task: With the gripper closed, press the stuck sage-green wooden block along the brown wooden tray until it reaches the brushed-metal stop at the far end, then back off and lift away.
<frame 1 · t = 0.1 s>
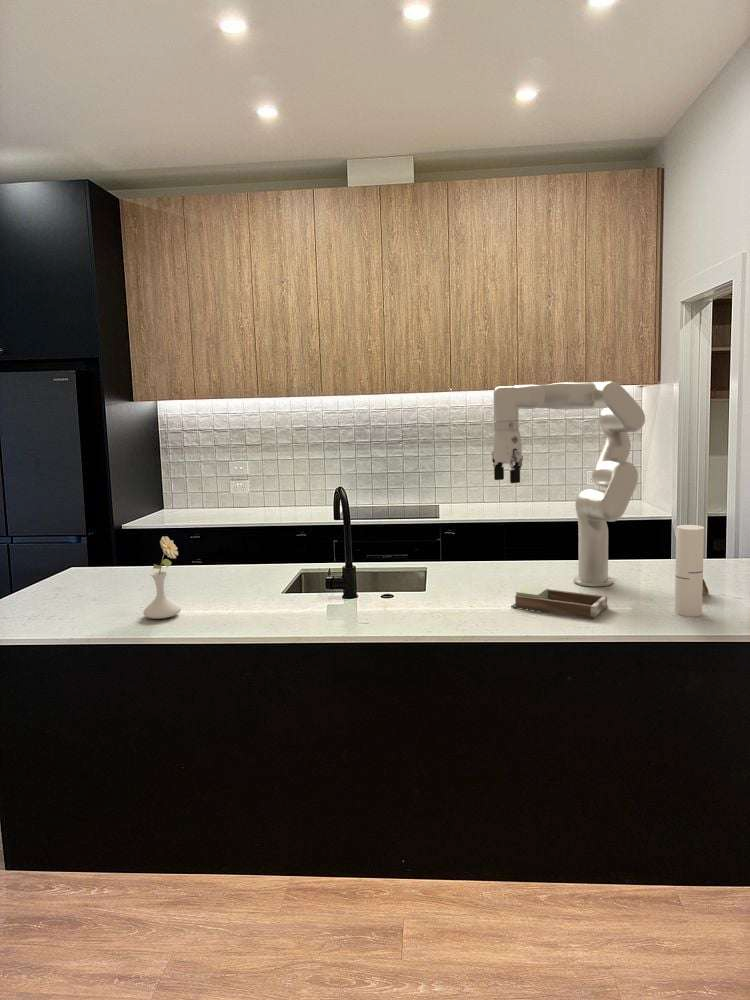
hand: (507, 481, 225), 37 cm above the counter, tool pointing down, fingers open, 9 cm apart
flower in vase: (164, 616, 225), on the counter
rock: (693, 596, 222), on the counter
brown wooden tray: (552, 606, 217), on the counter
cylindrical container: (688, 613, 206), on the counter
sage block: (532, 595, 220), point 3 cm above the counter, slide at 0.0 cm
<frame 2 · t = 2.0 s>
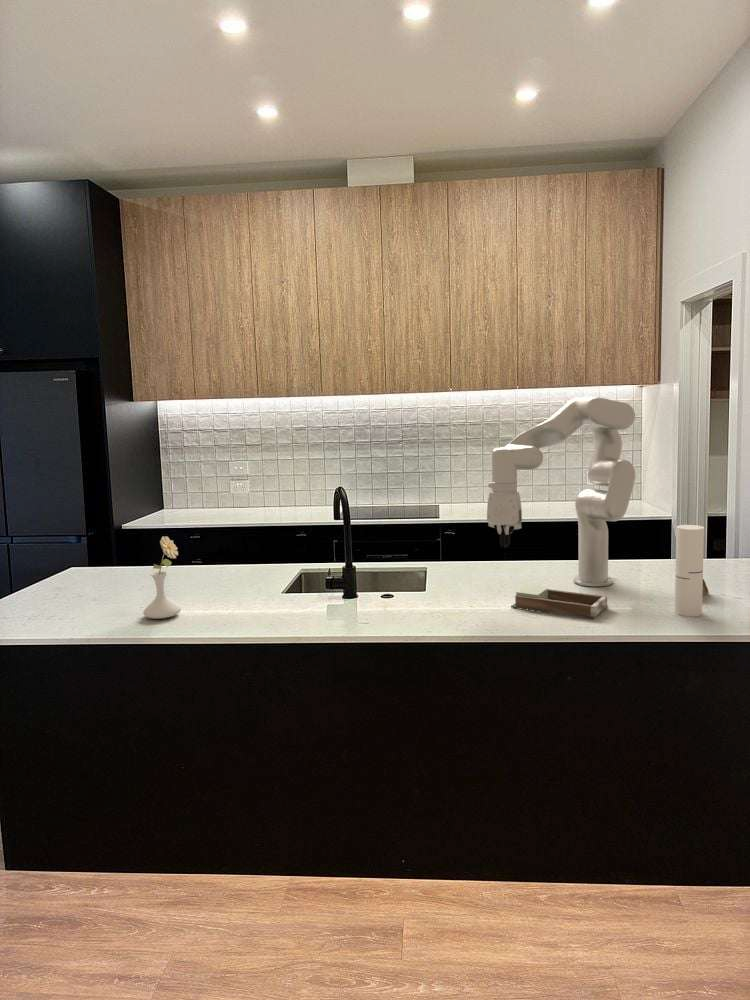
hand: (504, 546, 222), 17 cm above the counter, tool pointing down, fingers closed
nothing on the counter moved.
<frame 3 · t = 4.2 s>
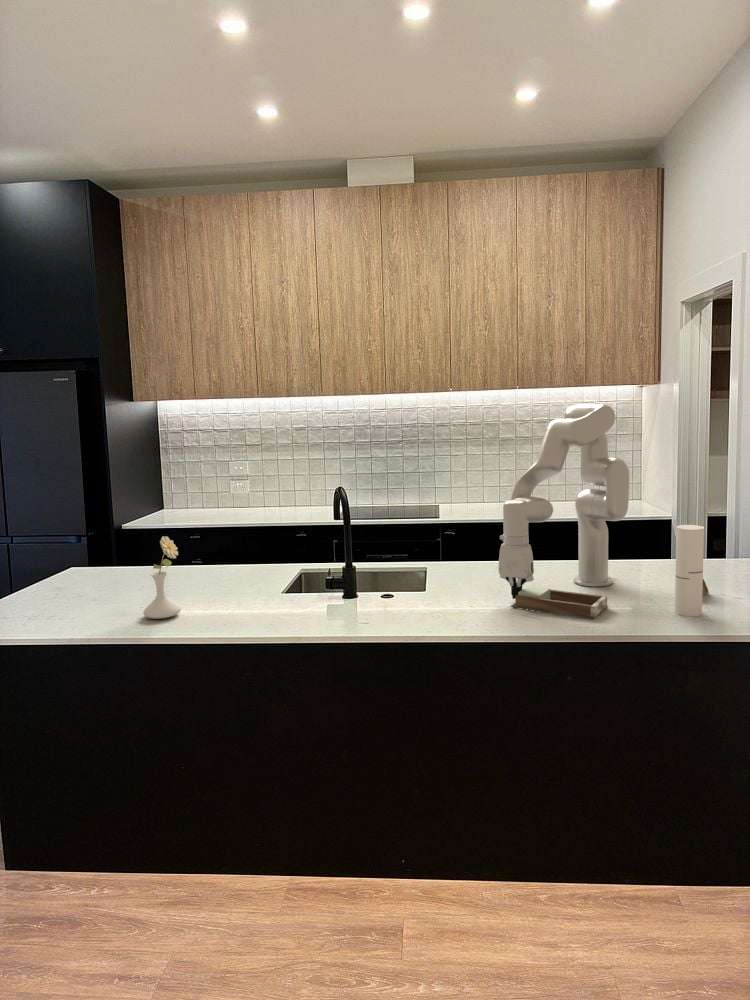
hand: (516, 597, 223), 1 cm above the counter, tool pointing down, fingers closed
sage block: (534, 596, 220), point 3 cm above the counter, slide at 0.8 cm, touching gripper
everything else where it was.
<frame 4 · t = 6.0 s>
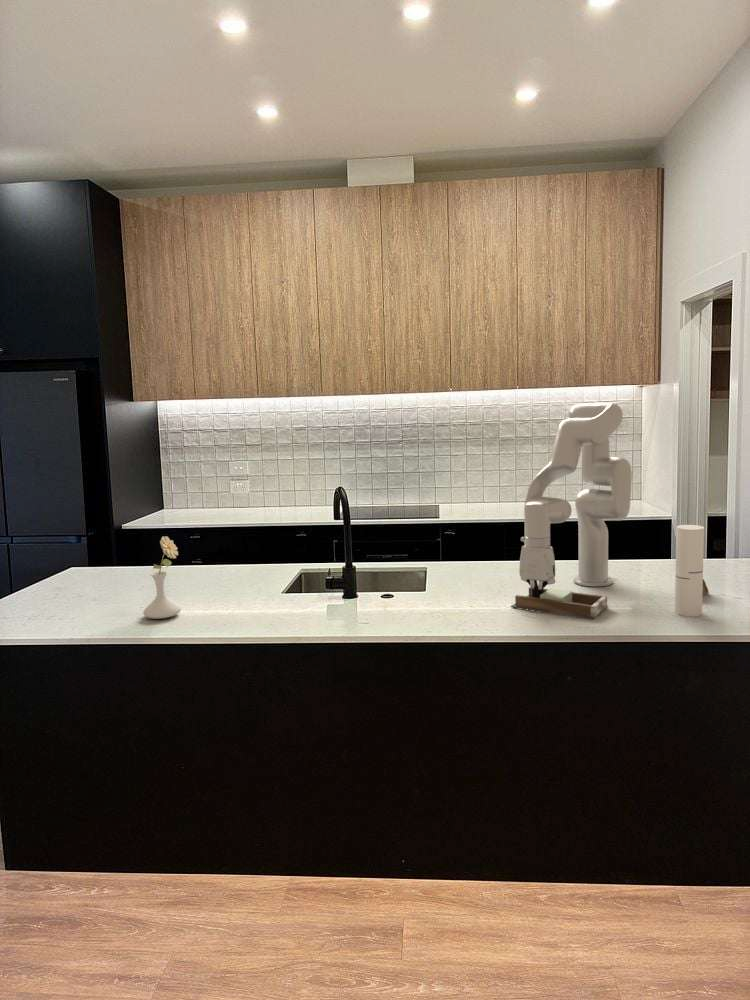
hand: (538, 600, 219), 1 cm above the counter, tool pointing down, fingers closed
sage block: (556, 598, 216), point 3 cm above the counter, slide at 7.7 cm, touching gripper
everything else where it was.
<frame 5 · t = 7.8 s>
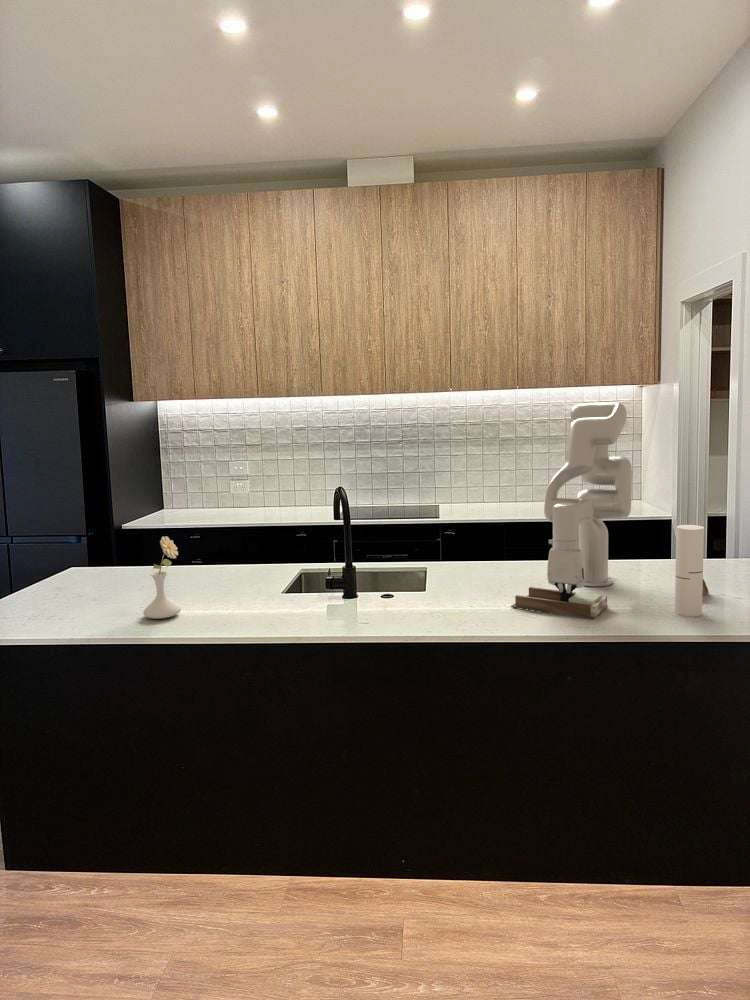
hand: (566, 604, 214), 1 cm above the counter, tool pointing down, fingers closed
sage block: (585, 602, 211), point 3 cm above the counter, slide at 16.5 cm, touching brown wooden tray, gripper
everything else where it was.
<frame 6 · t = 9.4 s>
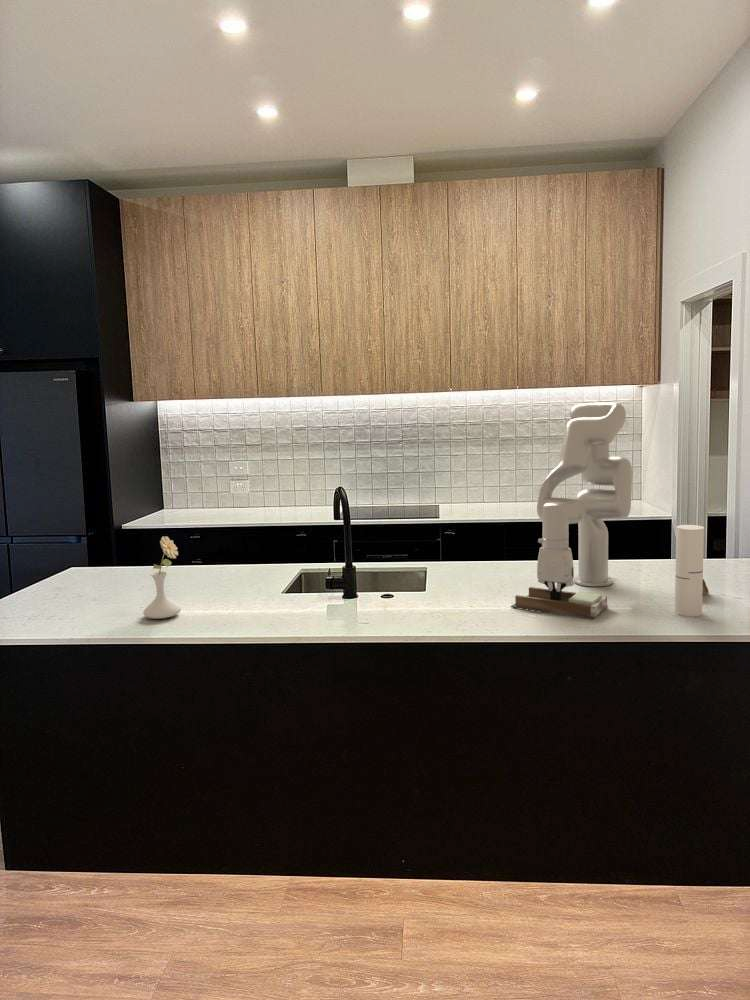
hand: (555, 603, 216), 1 cm above the counter, tool pointing down, fingers closed
sage block: (585, 602, 211), point 3 cm above the counter, slide at 16.5 cm, touching brown wooden tray
everything else where it was.
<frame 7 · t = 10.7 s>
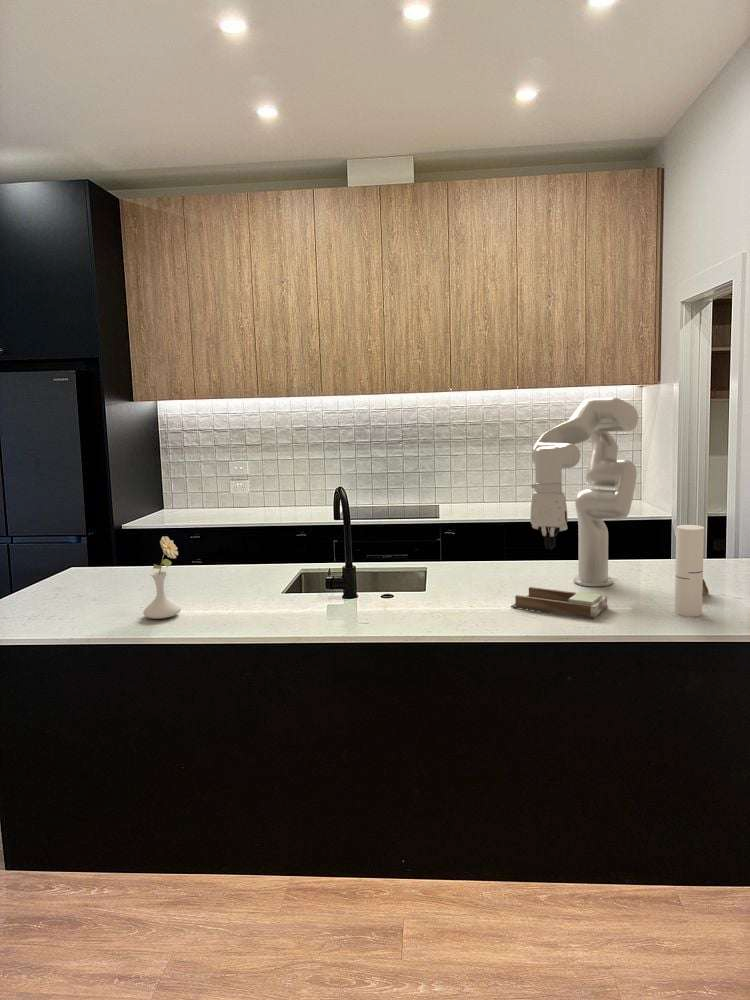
hand: (549, 548, 215), 18 cm above the counter, tool pointing down, fingers closed
nothing on the counter moved.
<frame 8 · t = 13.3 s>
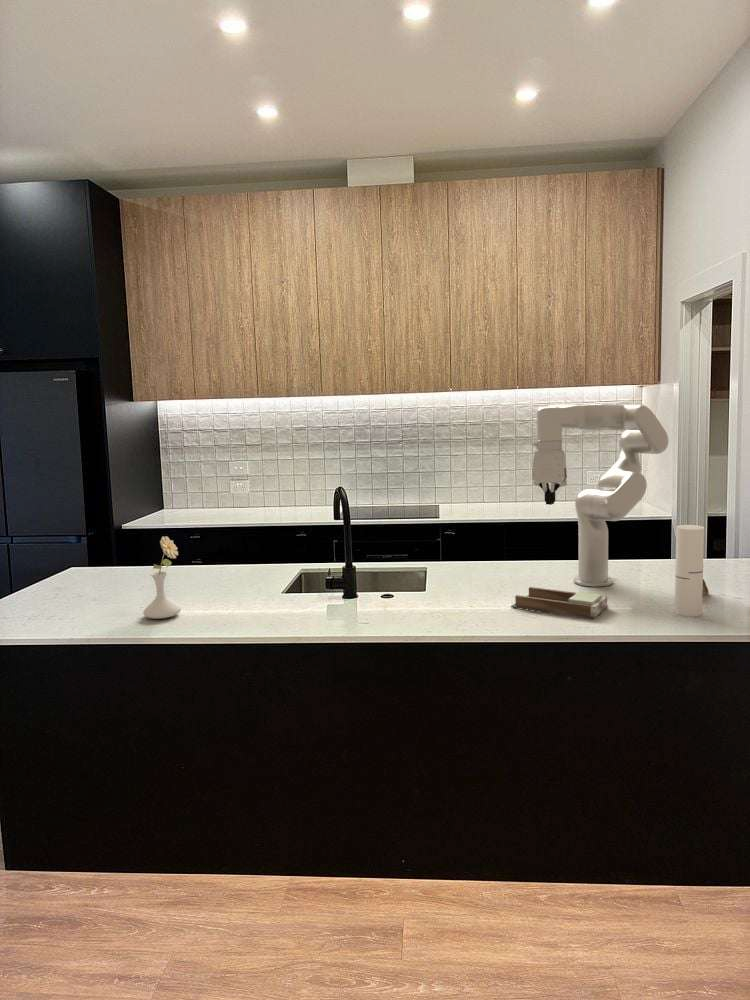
hand: (550, 503, 227), 29 cm above the counter, tool pointing down, fingers closed
nothing on the counter moved.
at the end: sage block slide at 16.5 cm; the gripper is holding nothing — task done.
